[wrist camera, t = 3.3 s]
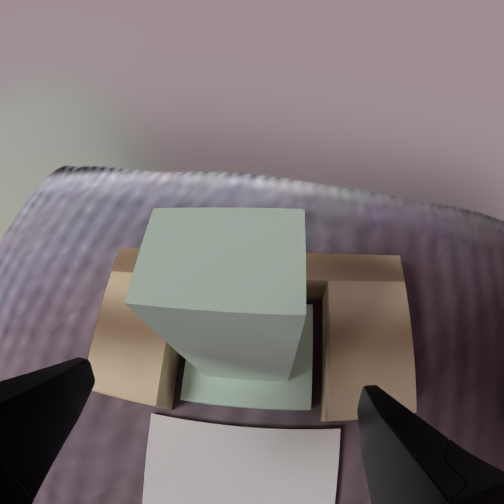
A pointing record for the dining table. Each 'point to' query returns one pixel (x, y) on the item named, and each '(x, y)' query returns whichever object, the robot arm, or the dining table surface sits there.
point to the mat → (238, 464)
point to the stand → (333, 336)
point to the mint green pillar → (230, 303)
